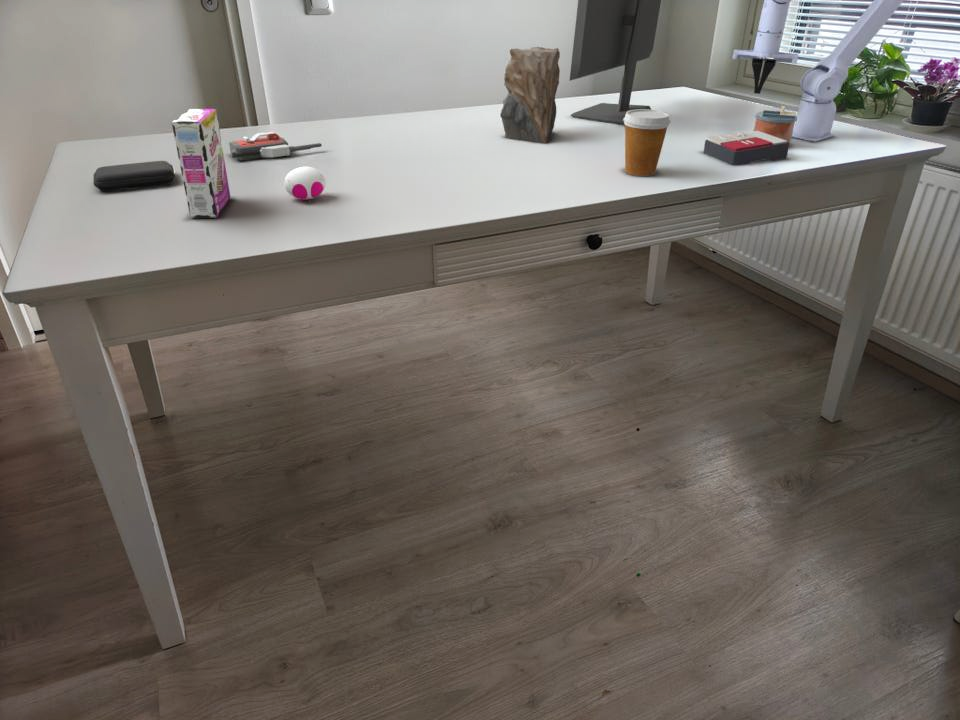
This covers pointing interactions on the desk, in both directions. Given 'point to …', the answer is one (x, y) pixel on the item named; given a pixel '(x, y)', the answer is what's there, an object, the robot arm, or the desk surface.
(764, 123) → the tumbler
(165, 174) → the carrying case
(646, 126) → the disposable coffee cup
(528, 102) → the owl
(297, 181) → the stress ball
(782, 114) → the lid slider
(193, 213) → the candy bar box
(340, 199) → the desk surface
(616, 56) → the computer monitor
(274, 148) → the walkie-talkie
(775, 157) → the dark grey flat box
